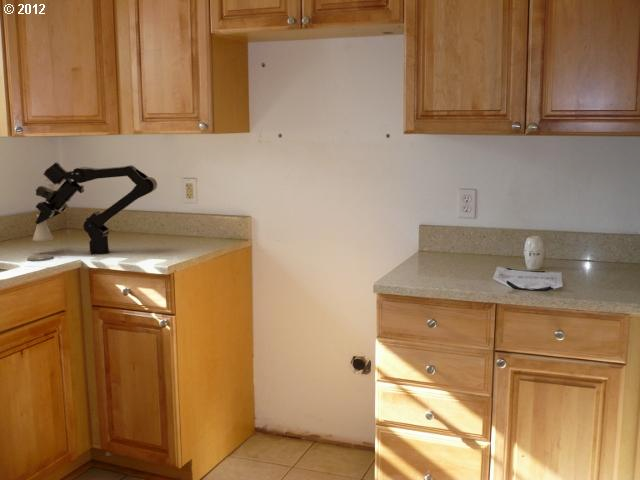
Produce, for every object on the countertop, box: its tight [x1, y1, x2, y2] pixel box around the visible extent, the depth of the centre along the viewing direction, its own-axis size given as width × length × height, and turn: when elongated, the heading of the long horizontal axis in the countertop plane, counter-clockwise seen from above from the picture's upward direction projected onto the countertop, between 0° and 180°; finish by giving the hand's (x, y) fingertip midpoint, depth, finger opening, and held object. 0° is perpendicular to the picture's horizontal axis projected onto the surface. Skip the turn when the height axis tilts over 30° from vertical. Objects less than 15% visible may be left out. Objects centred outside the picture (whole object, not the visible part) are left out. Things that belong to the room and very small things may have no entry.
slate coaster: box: [26, 253, 54, 262], centre depth 263 cm, size 9×9×1 cm
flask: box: [32, 213, 54, 242], centre depth 272 cm, size 7×7×10 cm
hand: (38, 222), depth 271 cm, fingers closed on flask, 3 cm apart
